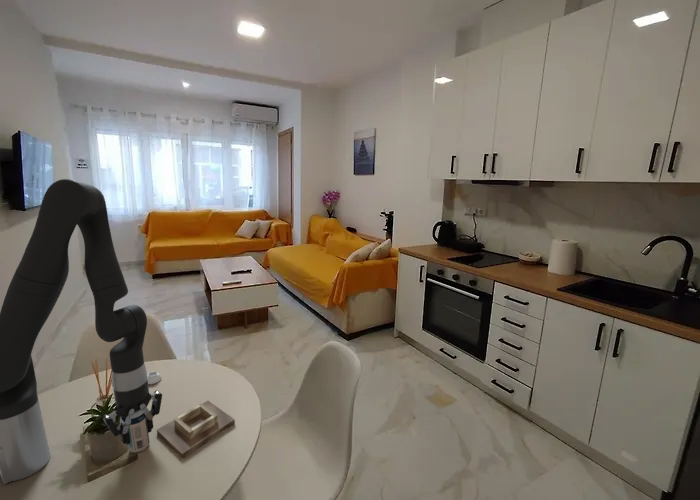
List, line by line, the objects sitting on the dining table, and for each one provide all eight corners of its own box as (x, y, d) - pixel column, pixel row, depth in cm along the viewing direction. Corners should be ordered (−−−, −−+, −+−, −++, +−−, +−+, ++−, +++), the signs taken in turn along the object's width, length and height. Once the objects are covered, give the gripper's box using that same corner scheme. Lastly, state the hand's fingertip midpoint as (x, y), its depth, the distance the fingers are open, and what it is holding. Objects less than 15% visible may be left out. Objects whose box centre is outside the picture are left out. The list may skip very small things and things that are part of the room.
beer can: (153, 441, 95) (148, 403, 92) (141, 454, 90) (136, 416, 87) (137, 439, 95) (132, 402, 92) (124, 453, 90) (119, 414, 88)
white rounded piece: (156, 375, 125) (142, 382, 121) (155, 368, 124) (141, 374, 120) (164, 379, 122) (150, 386, 118) (163, 372, 122) (149, 379, 117)
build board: (182, 458, 89) (181, 446, 88) (157, 434, 97) (155, 422, 96) (234, 423, 102) (234, 412, 101) (208, 404, 110) (207, 393, 109)
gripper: (103, 401, 80) (113, 461, 84) (165, 373, 91) (171, 427, 95) (92, 389, 84) (102, 446, 88) (152, 364, 96) (158, 415, 100)
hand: (138, 436), depth 92 cm, fingers closed on beer can, 4 cm apart
